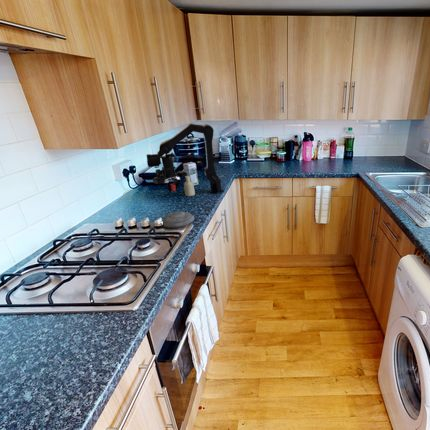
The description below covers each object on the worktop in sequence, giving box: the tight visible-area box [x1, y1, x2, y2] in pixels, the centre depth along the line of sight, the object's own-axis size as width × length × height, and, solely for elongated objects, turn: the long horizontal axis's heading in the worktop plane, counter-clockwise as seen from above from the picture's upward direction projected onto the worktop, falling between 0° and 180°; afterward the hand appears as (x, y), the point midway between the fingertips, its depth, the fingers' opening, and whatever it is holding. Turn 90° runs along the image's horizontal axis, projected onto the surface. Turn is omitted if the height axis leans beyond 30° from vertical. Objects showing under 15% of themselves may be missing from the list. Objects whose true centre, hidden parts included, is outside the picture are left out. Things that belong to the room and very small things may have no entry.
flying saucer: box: [161, 210, 195, 229], centre depth 135 cm, size 15×15×6 cm
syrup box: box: [182, 161, 200, 186], centre depth 187 cm, size 6×6×14 cm
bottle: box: [183, 176, 196, 197], centre depth 170 cm, size 6×6×11 cm
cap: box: [170, 183, 176, 192], centre depth 167 cm, size 4×4×4 cm
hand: (173, 191), depth 167 cm, fingers closed on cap, 3 cm apart
